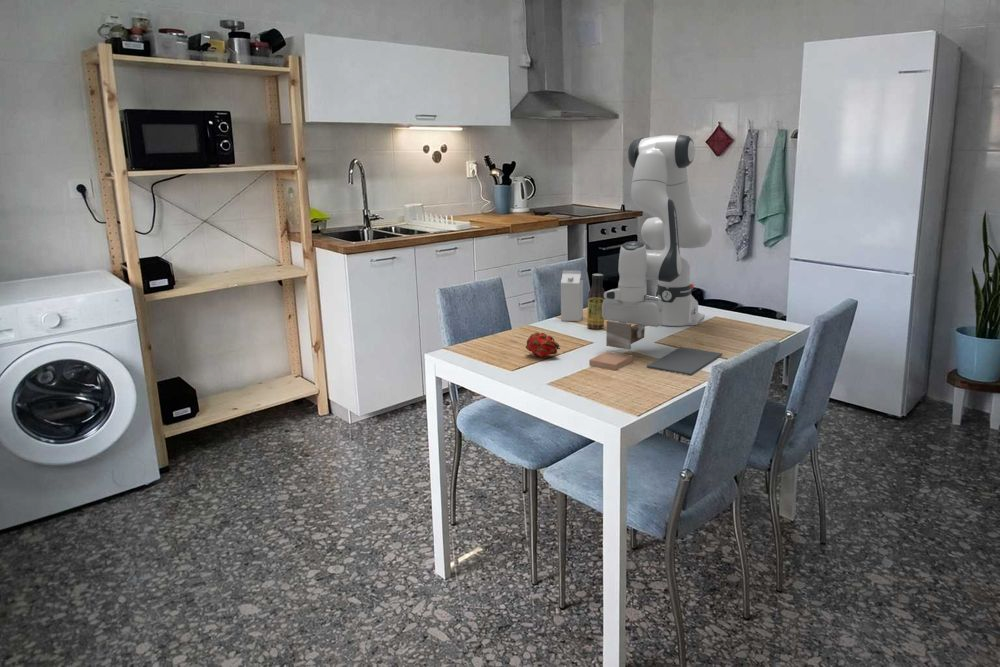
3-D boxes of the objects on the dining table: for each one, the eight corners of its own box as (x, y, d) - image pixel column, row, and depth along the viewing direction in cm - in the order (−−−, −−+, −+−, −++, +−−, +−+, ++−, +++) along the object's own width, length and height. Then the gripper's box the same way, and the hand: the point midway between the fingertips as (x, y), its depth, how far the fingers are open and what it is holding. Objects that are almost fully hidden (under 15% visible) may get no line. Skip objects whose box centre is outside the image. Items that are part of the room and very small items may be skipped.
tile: (607, 351, 223) (589, 359, 215) (632, 355, 218) (615, 364, 209) (607, 357, 224) (589, 366, 215) (632, 362, 218) (615, 371, 210)
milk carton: (565, 316, 277) (564, 268, 272) (583, 317, 274) (582, 269, 269) (561, 321, 270) (560, 272, 265) (579, 321, 268) (579, 272, 263)
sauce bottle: (586, 329, 256) (587, 276, 251) (587, 325, 262) (587, 272, 257) (605, 329, 255) (605, 275, 250) (605, 325, 261) (605, 272, 256)
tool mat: (680, 348, 230) (680, 346, 230) (722, 355, 221) (722, 353, 221) (646, 367, 212) (646, 365, 211) (690, 375, 203) (690, 373, 203)
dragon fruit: (526, 357, 231) (557, 367, 225) (516, 348, 224) (548, 359, 218) (536, 334, 233) (567, 344, 227) (526, 324, 225) (559, 334, 219)
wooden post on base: (629, 335, 232) (629, 311, 230) (651, 338, 228) (652, 314, 226) (606, 345, 221) (606, 321, 219) (629, 349, 216) (629, 324, 214)
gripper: (667, 295, 218) (666, 338, 221) (609, 289, 230) (608, 329, 234) (658, 299, 213) (657, 343, 216) (599, 292, 225) (599, 334, 229)
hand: (631, 336), depth 225 cm, fingers closed on wooden post on base, 3 cm apart
